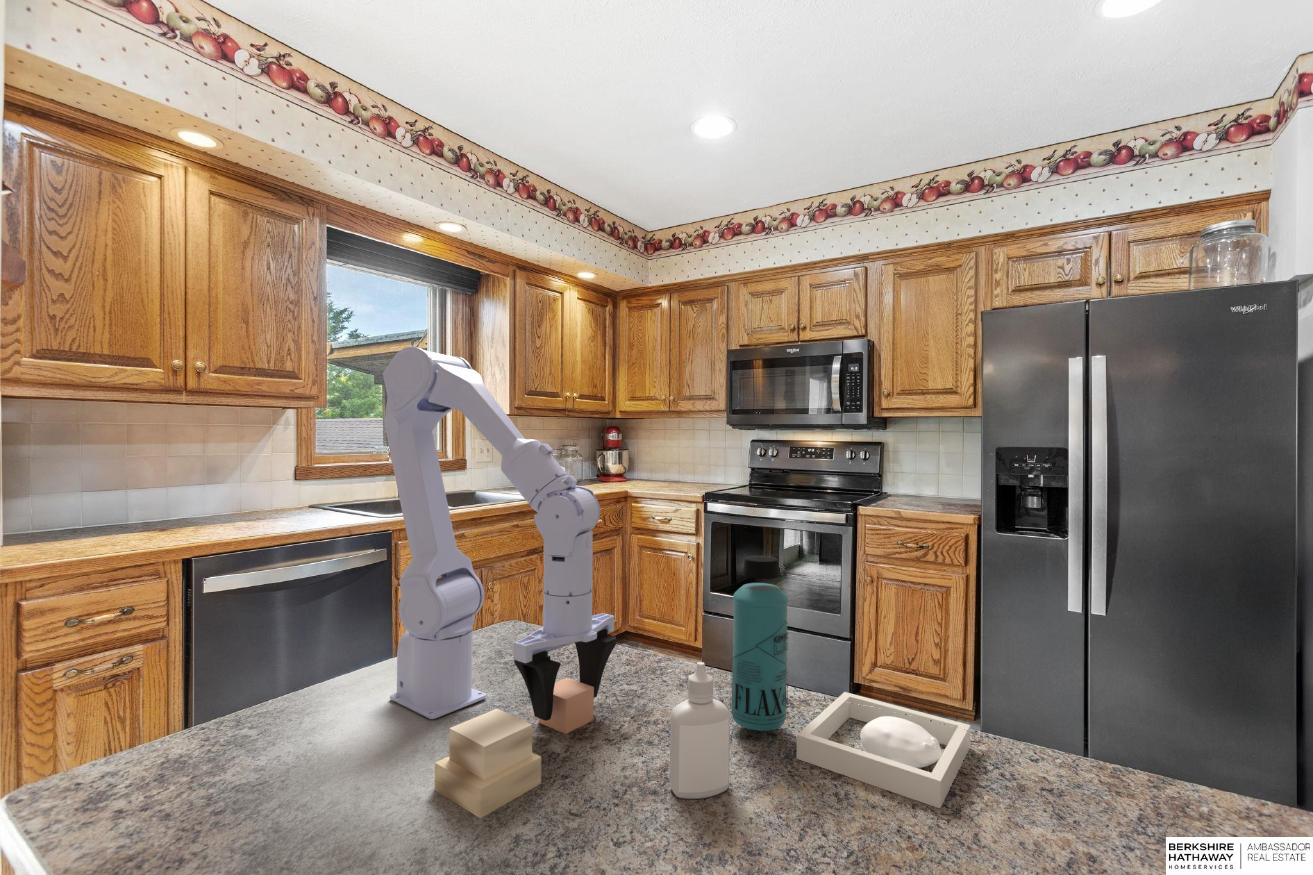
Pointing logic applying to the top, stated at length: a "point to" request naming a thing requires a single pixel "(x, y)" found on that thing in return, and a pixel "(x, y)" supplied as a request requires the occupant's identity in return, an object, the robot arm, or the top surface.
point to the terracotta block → (570, 705)
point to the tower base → (486, 784)
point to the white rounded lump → (900, 741)
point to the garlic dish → (879, 769)
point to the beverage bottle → (759, 649)
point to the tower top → (490, 743)
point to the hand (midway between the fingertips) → (566, 705)
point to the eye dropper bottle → (699, 741)
